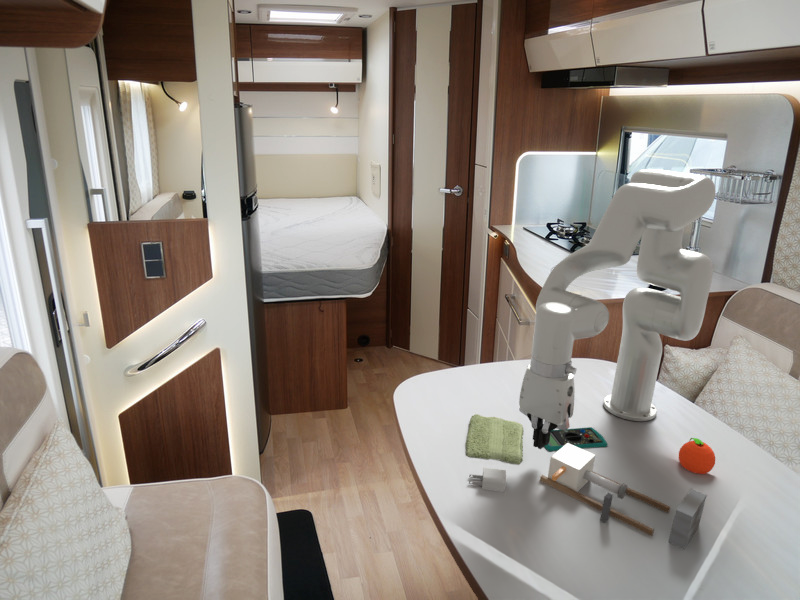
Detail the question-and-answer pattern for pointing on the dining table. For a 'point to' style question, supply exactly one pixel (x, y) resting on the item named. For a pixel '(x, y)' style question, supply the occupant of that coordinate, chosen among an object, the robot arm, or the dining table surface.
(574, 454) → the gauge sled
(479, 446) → the washcloth
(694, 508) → the wooden rail slider
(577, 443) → the digital multimeter
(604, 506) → the dark grey block
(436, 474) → the dining table surface
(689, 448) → the clementine
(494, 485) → the usb wall charger
